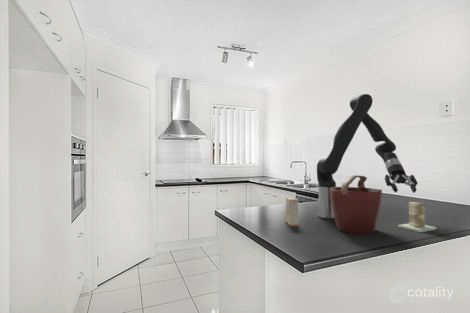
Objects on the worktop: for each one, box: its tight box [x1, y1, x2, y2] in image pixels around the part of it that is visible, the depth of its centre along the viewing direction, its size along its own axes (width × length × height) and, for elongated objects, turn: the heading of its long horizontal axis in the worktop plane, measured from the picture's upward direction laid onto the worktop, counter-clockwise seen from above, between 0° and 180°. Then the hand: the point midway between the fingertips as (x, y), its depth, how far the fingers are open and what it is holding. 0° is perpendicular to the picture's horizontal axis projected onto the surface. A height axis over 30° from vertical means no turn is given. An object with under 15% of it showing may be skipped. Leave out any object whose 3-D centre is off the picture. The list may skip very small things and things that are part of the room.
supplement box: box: [285, 196, 299, 227], centre depth 131 cm, size 8×5×13 cm, turn 179°
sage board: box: [397, 222, 437, 233], centre depth 122 cm, size 12×10×1 cm
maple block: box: [408, 201, 426, 228], centre depth 122 cm, size 4×4×11 cm
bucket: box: [330, 175, 383, 235], centre depth 121 cm, size 24×22×25 cm
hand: (405, 191), depth 132 cm, fingers open, 8 cm apart
